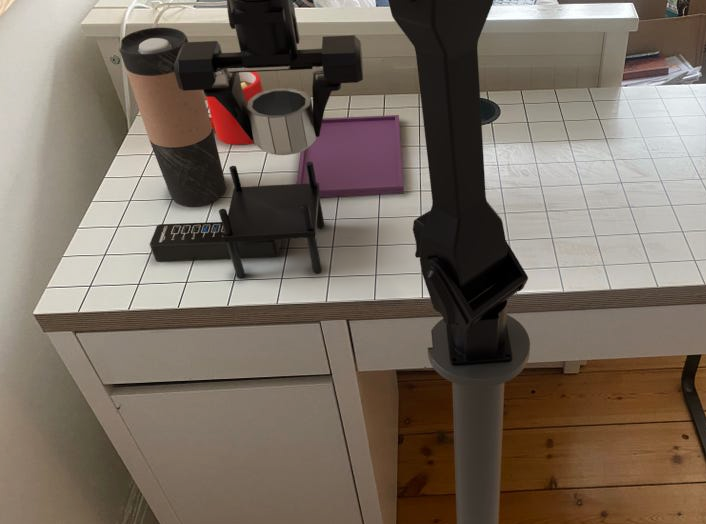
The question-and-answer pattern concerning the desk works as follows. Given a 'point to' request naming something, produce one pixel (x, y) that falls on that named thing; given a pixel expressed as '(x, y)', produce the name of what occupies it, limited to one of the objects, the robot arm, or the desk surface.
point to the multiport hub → (203, 243)
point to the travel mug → (173, 117)
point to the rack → (273, 216)
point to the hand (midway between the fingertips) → (286, 136)
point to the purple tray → (355, 157)
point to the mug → (224, 121)
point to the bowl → (282, 121)
